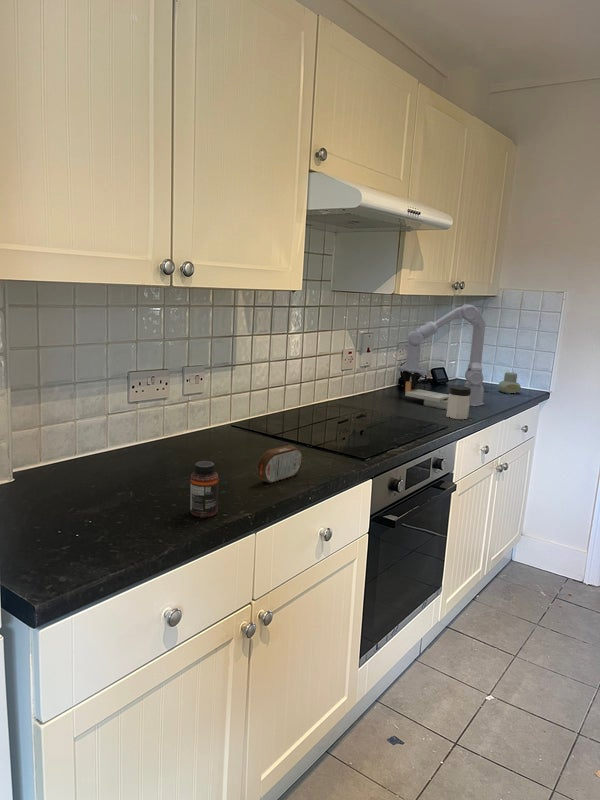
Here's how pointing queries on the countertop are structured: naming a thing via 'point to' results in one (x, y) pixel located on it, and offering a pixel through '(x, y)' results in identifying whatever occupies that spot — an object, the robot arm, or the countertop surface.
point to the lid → (424, 393)
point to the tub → (437, 403)
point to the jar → (458, 402)
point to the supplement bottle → (204, 490)
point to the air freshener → (509, 383)
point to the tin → (279, 463)
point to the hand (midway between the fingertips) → (409, 388)
